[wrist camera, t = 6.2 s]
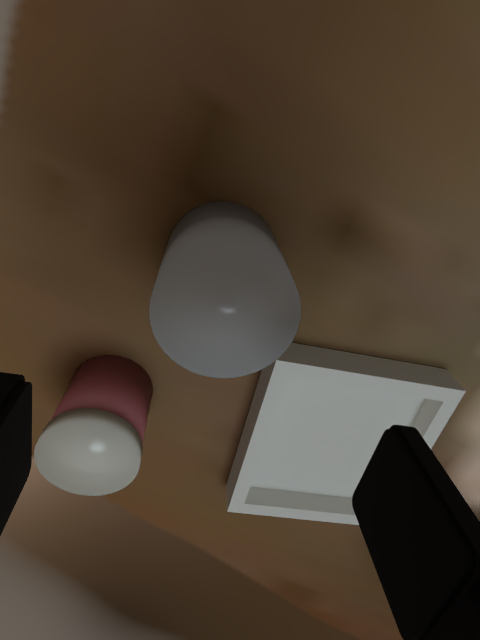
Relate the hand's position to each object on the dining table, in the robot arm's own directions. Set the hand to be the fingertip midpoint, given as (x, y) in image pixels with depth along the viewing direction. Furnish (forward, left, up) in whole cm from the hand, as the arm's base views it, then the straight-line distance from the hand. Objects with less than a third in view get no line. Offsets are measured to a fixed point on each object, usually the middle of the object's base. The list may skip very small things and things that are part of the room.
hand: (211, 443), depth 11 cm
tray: (+10, +10, -13) cm, 20 cm away
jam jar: (+9, -5, -13) cm, 17 cm away
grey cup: (-1, 0, -13) cm, 13 cm away
